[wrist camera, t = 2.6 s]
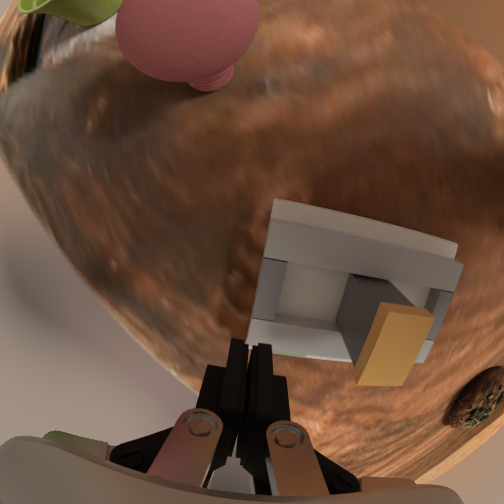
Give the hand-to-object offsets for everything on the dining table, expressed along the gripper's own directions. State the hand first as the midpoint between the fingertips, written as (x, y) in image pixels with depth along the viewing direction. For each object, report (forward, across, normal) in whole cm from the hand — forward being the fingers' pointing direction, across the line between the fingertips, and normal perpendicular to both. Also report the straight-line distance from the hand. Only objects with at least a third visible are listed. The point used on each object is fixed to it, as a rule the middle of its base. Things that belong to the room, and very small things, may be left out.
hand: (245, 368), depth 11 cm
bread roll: (+11, -35, +13) cm, 38 cm away
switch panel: (+11, -8, 0) cm, 14 cm away
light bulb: (+11, +6, -15) cm, 20 cm away
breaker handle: (+9, -8, 0) cm, 12 cm away
